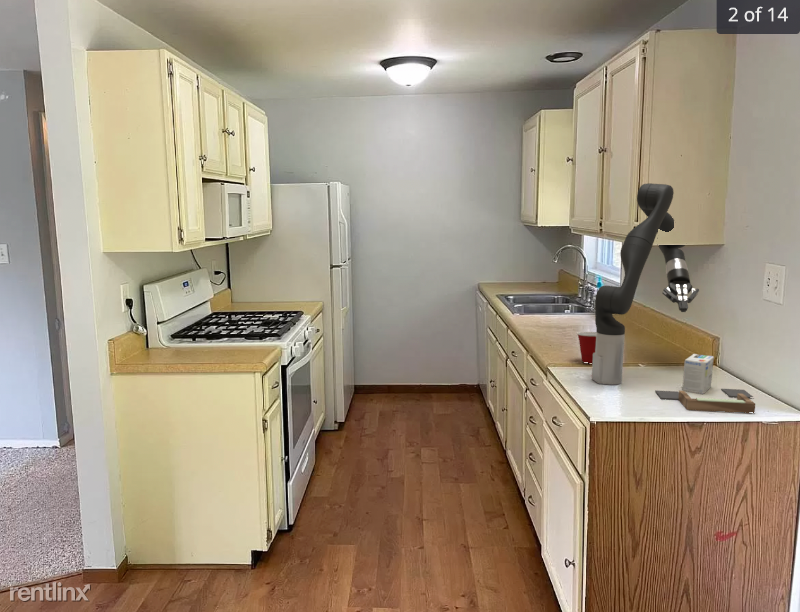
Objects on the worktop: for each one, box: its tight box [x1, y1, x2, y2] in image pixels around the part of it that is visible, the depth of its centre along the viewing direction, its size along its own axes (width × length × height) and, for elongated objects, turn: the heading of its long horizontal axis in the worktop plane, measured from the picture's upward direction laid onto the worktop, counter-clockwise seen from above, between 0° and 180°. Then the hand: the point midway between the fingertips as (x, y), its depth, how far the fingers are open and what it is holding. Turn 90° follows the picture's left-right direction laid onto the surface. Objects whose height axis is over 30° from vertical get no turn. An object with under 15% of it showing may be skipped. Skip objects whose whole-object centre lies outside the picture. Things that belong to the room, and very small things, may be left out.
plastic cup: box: [576, 331, 596, 363], centre depth 238 cm, size 11×11×12 cm
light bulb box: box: [681, 353, 715, 395], centre depth 203 cm, size 11×7×11 cm, turn 141°
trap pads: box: [655, 388, 754, 401], centre depth 197 cm, size 14×29×1 cm, turn 80°
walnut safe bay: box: [678, 390, 756, 414], centre depth 186 cm, size 10×18×3 cm, turn 80°
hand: (684, 310), depth 222 cm, fingers closed
